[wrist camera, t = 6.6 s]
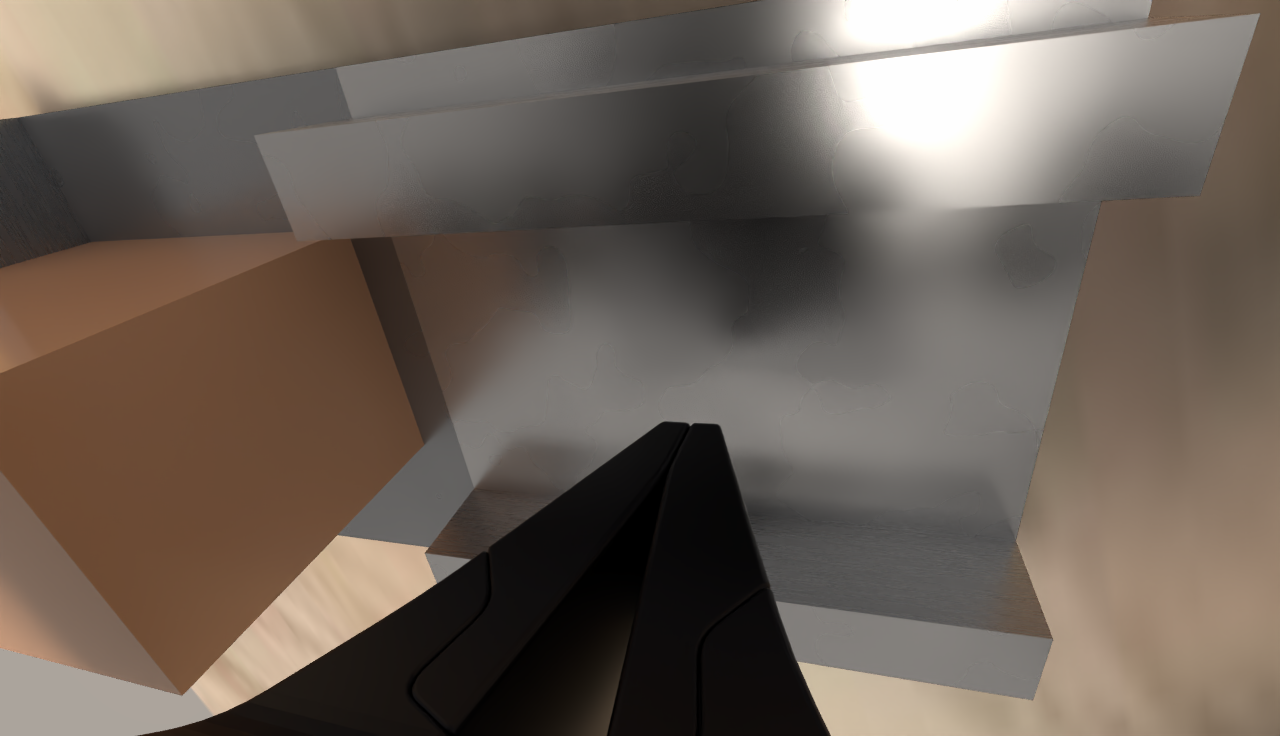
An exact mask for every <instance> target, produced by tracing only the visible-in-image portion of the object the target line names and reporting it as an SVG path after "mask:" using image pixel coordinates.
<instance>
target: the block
mask: <svg viewBox="0 0 1280 736" xmlns="http://www.w3.org/2000/svg"><path fill="white" fill-rule="evenodd" d="M423 446H424V442H423V440H422V437H421V434H420V431H419V428H418V426H417V423H416V420H415V417H414V414H413V412H412V409H411V406H410V403H409V401H408V398H407V395H406V392H405V389H404V387H403V384H402V381H401V378H400V375H399V373H398V370H397V367H396V364H395V362H394V359H393V356H392V353H391V350H390V348H389V345H388V342H387V339H386V336H385V334H384V331H383V328H382V325H381V323H380V320H379V317H378V314H377V311H376V309H375V306H374V303H373V300H372V297H371V295H370V292H369V289H368V286H367V284H366V281H365V278H364V275H363V272H362V270H361V267H360V264H359V261H358V258H357V256H356V253H355V250H354V247H353V245H352V242H351V239H334V240H314V241H297V240H296V237H295V235H294V232H282V233H262V234H241V235H221V236H200V237H180V238H160V239H139V240H119V241H98V242H90V243H86V244H83V245H79V246H76V247H72V248H69V249H65V250H62V251H58V252H55V253H51V254H48V255H44V256H41V257H37V258H34V259H30V260H27V261H23V262H20V263H17V264H13V265H10V266H6V267H3V268H0V648H2V649H6V650H10V651H13V652H17V653H21V654H25V655H29V656H33V657H36V658H40V659H44V660H48V661H52V662H55V663H59V664H63V665H67V666H71V667H74V668H78V669H82V670H86V671H90V672H94V673H98V674H101V675H105V676H109V677H113V678H116V679H120V680H124V681H128V682H132V683H136V684H140V685H143V686H147V687H151V688H155V689H158V690H162V691H166V692H170V693H174V694H178V695H183V694H184V693H185V692H186V691H187V690H188V689H189V688H190V687H191V686H192V685H193V684H194V683H195V682H196V681H197V680H198V679H199V678H200V677H201V676H202V675H203V674H204V673H205V672H206V671H207V670H208V669H209V667H210V666H211V665H212V664H213V663H214V662H215V661H216V660H217V659H218V658H219V657H220V656H221V655H222V654H223V653H224V652H225V651H226V650H227V649H228V648H229V647H230V646H231V645H232V644H233V643H234V642H235V641H236V640H237V638H238V637H239V636H240V635H241V634H242V633H243V632H244V631H245V630H246V629H247V628H248V627H249V626H250V625H251V624H252V623H253V622H254V621H255V620H256V619H257V618H258V617H259V616H260V615H261V614H262V613H263V612H264V610H265V609H266V608H267V607H268V606H269V605H270V604H271V603H272V602H273V601H274V600H275V599H276V598H277V597H278V596H279V595H280V594H281V593H282V592H283V591H284V590H285V589H286V588H287V587H288V586H289V585H290V584H291V583H292V581H293V580H294V579H295V578H296V577H297V576H298V575H299V574H300V573H301V572H302V571H303V570H304V569H305V568H306V567H307V566H308V565H309V564H310V563H311V562H312V561H313V560H314V559H315V558H316V557H317V556H318V555H319V554H320V552H321V551H322V550H323V549H324V548H325V547H326V546H327V545H328V544H329V543H330V542H331V541H332V540H333V539H334V538H335V537H336V536H337V535H338V534H339V533H340V532H341V531H342V530H343V529H344V528H345V527H346V526H347V524H348V523H349V522H350V521H351V520H352V519H353V518H354V517H355V516H356V515H357V514H358V513H359V512H360V511H361V510H362V509H363V508H364V507H365V506H366V505H367V504H368V503H369V502H370V501H371V500H372V499H373V498H374V497H375V495H376V494H377V493H378V492H379V491H380V490H381V489H382V488H383V487H384V486H385V485H386V484H387V483H388V482H389V481H390V480H391V479H392V478H393V477H394V476H395V475H396V474H397V473H398V472H399V471H400V470H401V469H402V467H403V466H404V465H405V464H406V463H407V462H408V461H409V460H410V459H411V458H412V457H413V456H414V455H415V454H416V453H417V452H418V451H419V450H420V449H421V448H422V447H423Z"/></svg>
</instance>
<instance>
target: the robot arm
mask: <svg viewBox="0 0 1280 736" xmlns="http://www.w3.org/2000/svg"><path fill="white" fill-rule="evenodd" d="M138 736H831V735H830V733H829V731H828V729H827V727H826V725H825V723H824V721H823V719H822V717H821V714H820V712H819V710H818V708H817V706H816V704H815V702H814V700H813V697H812V695H811V693H810V690H809V688H808V686H807V683H806V681H805V679H804V677H803V674H802V672H801V670H800V667H799V665H798V663H797V661H796V658H795V656H794V653H793V650H792V648H791V645H790V642H789V639H788V636H787V634H786V631H785V628H784V625H783V622H782V620H781V617H780V614H779V610H778V607H777V604H776V601H775V598H774V594H773V591H772V590H771V586H770V583H769V579H768V576H767V573H766V570H765V567H764V563H763V560H762V557H761V554H760V551H759V547H758V544H757V541H756V538H755V534H754V531H753V528H752V525H751V522H750V518H749V515H748V512H747V509H746V506H745V502H744V499H743V496H742V493H741V490H740V486H739V483H738V480H737V477H736V473H735V470H734V467H733V464H732V461H731V457H730V454H729V451H728V448H727V445H726V441H725V438H724V435H723V432H722V429H721V427H720V425H718V424H710V423H693V424H692V425H691V426H690V424H689V423H687V422H671V421H664V422H661V423H659V424H658V425H657V426H655V427H654V428H653V429H651V430H650V431H648V432H647V433H646V434H644V435H643V436H641V437H640V438H639V439H637V440H636V441H635V442H633V443H632V444H630V445H629V446H628V447H626V448H625V449H624V450H622V451H621V452H619V453H618V454H617V455H615V456H614V457H612V458H611V459H610V460H608V461H607V462H606V463H604V464H603V465H601V466H600V467H599V468H597V469H596V470H594V471H593V472H592V473H590V474H589V475H588V476H586V477H585V478H583V479H582V480H581V481H579V482H578V483H577V484H575V485H574V486H572V487H571V488H570V489H568V490H567V491H565V492H564V493H563V494H561V495H560V496H559V497H557V498H556V499H554V500H553V501H552V502H550V503H549V504H548V505H546V506H545V507H543V508H542V509H541V510H539V511H538V512H536V513H535V514H534V515H532V516H531V517H530V518H528V519H527V520H525V521H524V522H523V523H521V524H520V525H519V526H517V527H516V528H514V529H513V530H512V531H510V532H509V533H507V534H506V535H505V536H503V537H502V538H501V539H499V540H498V541H496V542H495V543H494V544H492V545H491V546H490V547H489V548H488V552H487V551H482V552H481V553H480V554H478V555H477V556H475V557H474V558H473V559H471V560H470V561H468V562H467V563H466V564H464V565H463V566H462V567H460V568H459V569H457V570H456V571H454V572H453V573H452V574H450V575H449V576H447V577H446V578H444V579H443V580H441V581H440V582H438V583H437V584H436V585H434V586H433V587H431V588H430V589H428V590H427V591H425V592H424V593H423V594H421V595H419V596H418V597H416V598H415V599H413V600H412V601H410V602H409V603H407V604H405V605H404V606H402V607H401V608H399V609H398V610H396V611H394V612H393V613H391V614H390V615H388V616H387V617H385V618H383V619H382V620H380V621H379V622H377V623H375V624H374V625H372V626H371V627H369V628H367V629H366V630H364V631H362V632H361V633H359V634H358V635H356V636H354V637H353V638H351V639H349V640H348V641H346V642H344V643H343V644H341V645H340V646H338V647H336V648H335V649H333V650H331V651H330V652H328V653H327V654H325V655H323V656H322V657H320V658H318V659H317V660H315V661H313V662H312V663H310V664H309V665H307V666H305V667H304V668H302V669H300V670H299V671H297V672H296V673H294V674H292V675H291V676H289V677H287V678H286V679H284V680H282V681H281V682H279V683H278V684H276V685H274V686H273V687H271V688H269V689H268V690H266V691H264V692H263V693H261V694H259V695H257V696H255V697H254V698H252V699H250V700H248V701H247V702H244V703H242V704H240V705H238V706H236V707H234V708H232V709H230V710H228V711H226V712H223V713H220V714H218V715H215V716H213V717H210V718H208V719H205V720H202V721H199V722H196V723H192V724H189V725H185V726H182V727H178V728H174V729H169V730H165V731H160V732H154V733H149V734H144V735H138Z"/></svg>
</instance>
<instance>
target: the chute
mask: <svg viewBox="0 0 1280 736" xmlns="http://www.w3.org/2000/svg"><path fill="white" fill-rule="evenodd" d="M1151 4H1152V0H761V1H755V2H748V3H742V4H736V5H729V6H723V7H717V8H710V9H704V10H697V11H691V12H685V13H678V14H672V15H666V16H659V17H653V18H647V19H640V20H634V21H628V22H621V23H615V24H609V25H602V26H596V27H590V28H583V29H577V30H571V31H564V32H558V33H552V34H545V35H539V36H533V37H526V38H520V39H514V40H507V41H501V42H494V43H488V44H482V45H475V46H469V47H463V48H456V49H450V50H444V51H437V52H431V53H425V54H418V55H412V56H406V57H399V58H393V59H387V60H380V61H374V62H368V63H361V64H355V65H349V66H342V67H336V68H331V69H324V70H318V71H312V72H305V73H299V74H293V75H286V76H280V77H274V78H267V79H261V80H254V81H248V82H242V83H235V84H229V85H223V86H216V87H210V88H204V89H197V90H191V91H185V92H178V93H172V94H166V95H159V96H153V97H147V98H140V99H134V100H127V101H121V102H115V103H108V104H102V105H96V106H89V107H83V108H77V109H70V110H64V111H58V112H51V113H45V114H39V115H32V116H26V117H20V118H10V119H1V120H0V268H3V267H6V266H10V265H13V264H17V263H20V262H23V261H27V260H30V259H34V258H37V257H41V256H44V255H48V254H51V253H55V252H58V251H62V250H65V249H69V248H72V247H76V246H79V245H83V244H86V243H90V242H98V241H119V240H139V239H160V238H180V237H200V236H221V235H241V234H262V233H282V232H294V235H295V237H296V240H297V241H314V240H334V239H351V242H352V245H353V247H354V250H355V253H356V256H357V258H358V261H359V264H360V267H361V270H362V272H363V275H364V278H365V281H366V284H367V286H368V289H369V292H370V295H371V297H372V300H373V303H374V306H375V309H376V311H377V314H378V317H379V320H380V323H381V325H382V328H383V331H384V334H385V336H386V339H387V342H388V345H389V348H390V350H391V353H392V356H393V359H394V362H395V364H396V367H397V370H398V373H399V375H400V378H401V381H402V384H403V387H404V389H405V392H406V395H407V398H408V401H409V403H410V406H411V409H412V412H413V414H414V417H415V420H416V423H417V426H418V428H419V431H420V434H421V437H422V440H423V442H424V446H423V447H422V448H421V449H420V450H419V451H418V452H417V453H416V454H415V455H414V456H413V457H412V458H411V459H410V460H409V461H408V462H407V463H406V464H405V465H404V466H403V467H402V469H401V470H400V471H399V472H398V473H397V474H396V475H395V476H394V477H393V478H392V479H391V480H390V481H389V482H388V483H387V484H386V485H385V486H384V487H383V488H382V489H381V490H380V491H379V492H378V493H377V494H376V495H375V497H374V498H373V499H372V500H371V501H370V502H369V503H368V504H367V505H366V506H365V507H364V508H363V509H362V510H361V511H360V512H359V513H358V514H357V515H356V516H355V517H354V518H353V519H352V520H351V521H350V522H349V523H348V524H347V526H346V527H345V528H344V529H343V530H342V531H341V532H340V533H339V534H338V535H341V536H348V537H356V538H363V539H371V540H378V541H386V542H393V543H401V544H408V545H416V546H423V547H429V548H428V550H427V551H426V552H425V555H426V557H427V560H428V562H429V565H430V567H431V570H432V572H433V575H434V577H435V579H436V582H437V583H438V582H440V581H441V580H443V579H444V578H446V577H447V576H449V575H450V574H452V573H453V572H454V571H456V570H457V569H459V568H460V567H462V566H463V565H464V564H466V563H467V562H468V561H470V560H471V559H473V558H474V557H475V556H477V555H478V554H480V553H481V552H482V551H487V552H488V548H489V547H490V546H491V545H492V544H494V543H495V542H496V541H498V540H499V539H501V538H502V537H503V536H505V535H506V534H507V533H509V532H510V531H512V530H513V529H514V528H516V527H517V526H519V525H520V524H521V523H523V522H524V521H525V520H527V519H528V518H530V517H531V516H532V515H534V514H535V513H536V512H538V511H539V510H541V509H542V508H543V507H545V506H546V505H548V504H549V503H550V502H552V501H553V500H554V499H556V498H557V497H559V496H560V495H561V494H563V493H564V492H565V491H567V490H568V489H570V488H571V487H572V486H574V485H575V484H577V483H578V482H579V481H581V480H582V479H583V478H585V477H586V476H588V475H589V474H590V473H592V472H593V471H594V470H596V469H597V468H599V467H600V466H601V465H603V464H604V463H606V462H607V461H608V460H610V459H611V458H612V457H614V456H615V455H617V454H618V453H619V452H621V451H622V450H624V449H625V448H626V447H628V446H629V445H630V444H632V443H633V442H635V441H636V440H637V439H639V438H640V437H641V436H643V435H644V434H646V433H647V432H648V431H650V430H651V429H653V428H654V427H655V426H657V425H658V424H659V423H661V422H664V421H671V422H687V423H689V424H690V426H691V425H692V424H693V423H710V424H718V425H720V427H721V429H722V432H723V435H724V438H725V441H726V445H727V448H728V451H729V454H730V457H731V461H732V464H733V467H734V470H735V473H736V477H737V480H738V483H739V486H740V490H741V493H742V496H743V499H744V502H745V506H746V509H747V512H748V515H749V518H750V522H751V525H752V528H753V531H754V534H755V538H756V541H757V544H758V547H759V551H760V554H761V557H762V560H763V563H764V567H765V570H766V573H767V576H768V579H769V583H770V586H771V590H772V591H773V594H774V598H775V601H776V604H777V607H778V610H779V614H780V617H781V620H782V622H783V625H784V628H785V631H786V634H787V636H788V639H789V642H790V645H791V648H792V650H793V653H794V656H795V658H796V661H798V662H804V663H810V664H816V665H822V666H828V667H834V668H840V669H846V670H853V671H859V672H865V673H871V674H877V675H883V676H889V677H895V678H901V679H907V680H913V681H919V682H925V683H931V684H937V685H943V686H950V687H956V688H962V689H968V690H974V691H980V692H986V693H992V694H998V695H1004V696H1010V697H1016V698H1022V699H1028V700H1033V699H1034V696H1035V693H1036V690H1037V687H1038V684H1039V681H1040V677H1041V674H1042V671H1043V668H1044V665H1045V662H1046V659H1047V656H1048V653H1049V650H1050V647H1051V644H1052V641H1053V638H1052V635H1051V632H1050V630H1049V627H1048V625H1047V622H1046V619H1045V617H1044V614H1043V611H1042V609H1041V606H1040V603H1039V601H1038V598H1037V596H1036V593H1035V590H1034V588H1033V585H1032V582H1031V580H1030V577H1029V574H1028V572H1027V569H1026V566H1025V564H1024V561H1023V559H1022V556H1021V553H1020V551H1019V548H1018V545H1017V543H1016V537H1017V533H1018V529H1019V525H1020V522H1021V518H1022V514H1023V510H1024V506H1025V502H1026V498H1027V494H1028V490H1029V486H1030V482H1031V478H1032V474H1033V470H1034V466H1035V462H1036V458H1037V454H1038V450H1039V446H1040V442H1041V439H1042V435H1043V431H1044V427H1045V423H1046V419H1047V415H1048V411H1049V407H1050V403H1051V399H1052V395H1053V391H1054V387H1055V383H1056V379H1057V375H1058V371H1059V367H1060V363H1061V359H1062V355H1063V352H1064V348H1065V344H1066V340H1067V336H1068V332H1069V328H1070V324H1071V320H1072V316H1073V312H1074V308H1075V304H1076V300H1077V296H1078V292H1079V288H1080V284H1081V280H1082V276H1083V272H1084V269H1085V265H1086V261H1087V257H1088V253H1089V249H1090V245H1091V241H1092V237H1093V233H1094V229H1095V225H1096V221H1097V217H1098V213H1099V209H1100V205H1101V201H1105V200H1125V199H1145V198H1165V197H1184V196H1200V194H1201V191H1202V188H1203V185H1204V182H1205V179H1206V176H1207V173H1208V170H1209V167H1210V164H1211V161H1212V158H1213V155H1214V152H1215V149H1216V146H1217V143H1218V140H1219V136H1220V133H1221V130H1222V127H1223V124H1224V121H1225V118H1226V115H1227V112H1228V109H1229V106H1230V103H1231V100H1232V97H1233V94H1234V91H1235V88H1236V85H1237V82H1238V79H1239V76H1240V73H1241V70H1242V67H1243V64H1244V61H1245V58H1246V55H1247V52H1248V49H1249V46H1250V43H1251V40H1252V37H1253V34H1254V31H1255V28H1256V25H1257V22H1258V19H1259V16H1260V13H1257V14H1233V15H1210V16H1186V17H1162V18H1148V16H1149V12H1150V8H1151Z"/></svg>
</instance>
